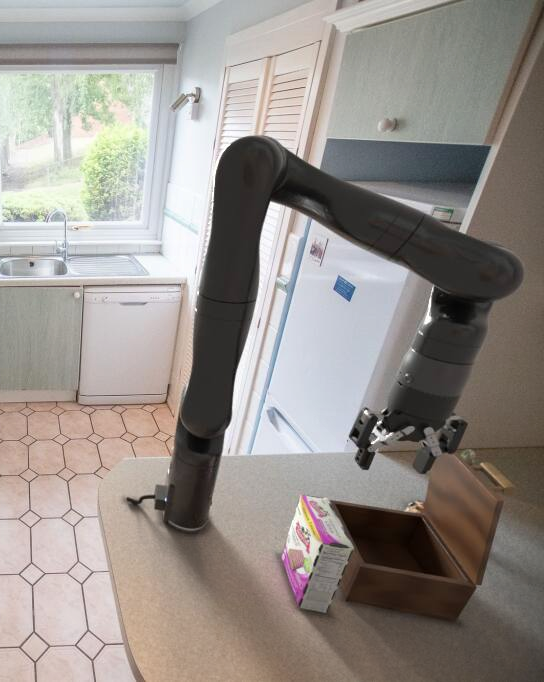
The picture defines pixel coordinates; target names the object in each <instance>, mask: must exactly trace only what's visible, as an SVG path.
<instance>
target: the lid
mask: <svg viewBox="0 0 544 682" xmlns="http://www.w3.org/2000/svg"><path fill="white" fill-rule="evenodd" d="M436 438H438V436H436ZM460 455H461V454H459V452H457V451H456V452H455V453H454V454H448V453H442V454H441V455H440V456H438V457H437V458H436V460H435V462H434V463H433V465H432V468H431V469H430V471H429V478H428V483H427V489H426V494H425V500H424V503H425V504H424V510H423V513H424V514H425V516H426V517H427V519H428V520H429V521H430V523H431V524H432V525H433V527H434V528H435V530H436V531H437V532H438V534H439V535H440V537H441V538H442V539H443V541H444V542H445V544H446V545H447V546H448V548H449V549H450V551H451V552H452V553H453V555H454V556H455V557H456V559H457V560H458V562H459V563H460V564H461V566H462V567H463V569H464V570H465V571H466V573H467V574H468V576H469V577H470V578H471V580H472V581H473V583H474V584H475V585H476V586H482V585H483V581H484V577H485V574H486V569H487V566H488V562H489V558H490V555H491V551H492V548H493V543H494V540H495V537H496V532H497V528H498V526H499V521H500V518H501V513H502V509H503V506H504V500H503V498H502V497H501V496H500V495H499V494H498V493H502V494H503V495H505V496H509V497H511V496H514V495H516V494H517V492H518V488H517V487H516V486H515V485H514V484H513V483H512V482H511V481H509V479H508V478H506V477H505V476H504V475H503V474H502V473H501V472H500V471H499V470H498V469H497V468H496V467H495V466H494V465H493V464H492V463H491V462H488V461H483V462H481V463H479V464H472V465H469V464H468V463H467V462H466V461H465V460H464V459H463V458H462V457H461V456H460ZM477 472H481V473H482V474H483V475H484V476H485V477H486V478H487V479H488V480H489V481H490V483H492V484H493V485H489V484H488V483H487V482H486V480H484V479H483V478H482V477H481V476H480V474H478V473H477Z"/></svg>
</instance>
